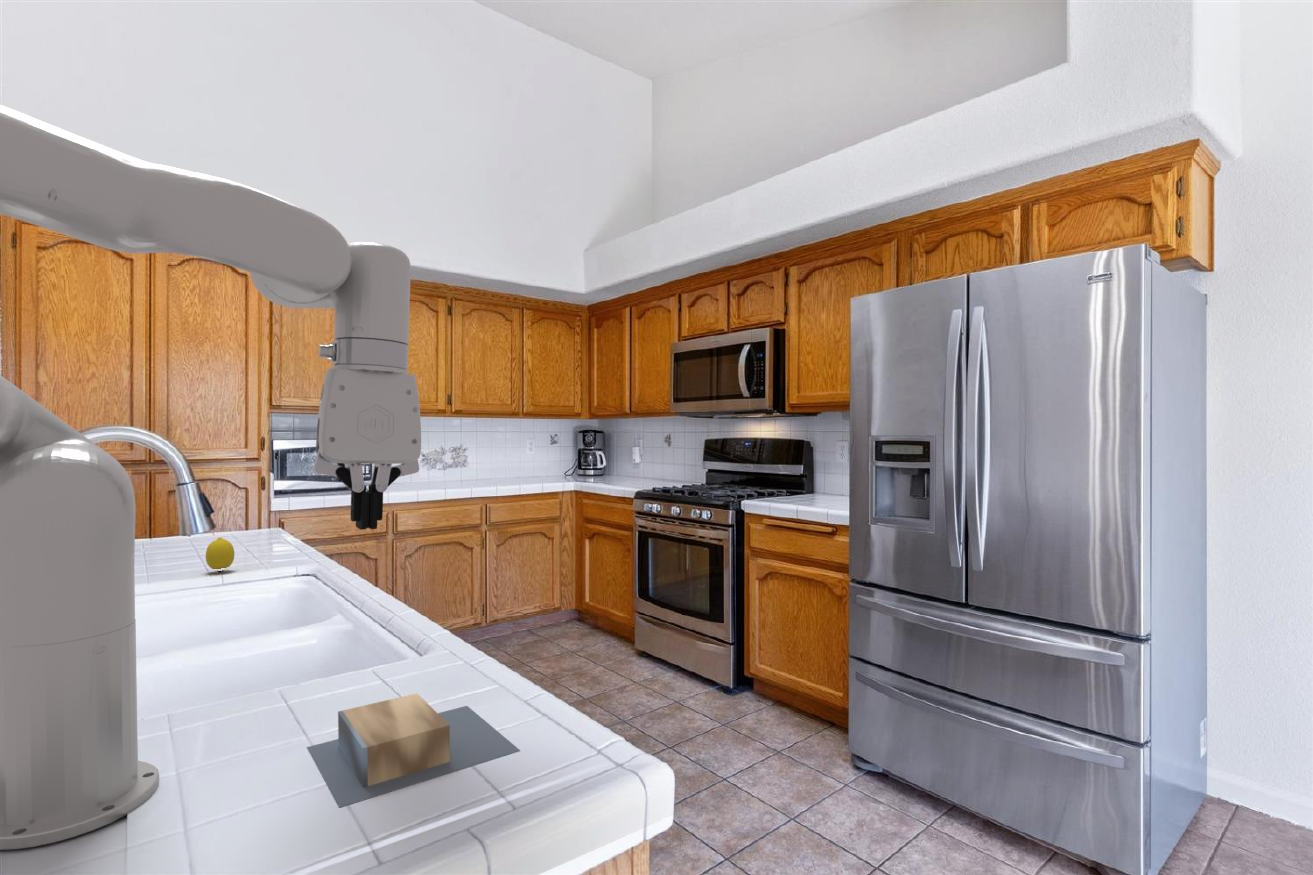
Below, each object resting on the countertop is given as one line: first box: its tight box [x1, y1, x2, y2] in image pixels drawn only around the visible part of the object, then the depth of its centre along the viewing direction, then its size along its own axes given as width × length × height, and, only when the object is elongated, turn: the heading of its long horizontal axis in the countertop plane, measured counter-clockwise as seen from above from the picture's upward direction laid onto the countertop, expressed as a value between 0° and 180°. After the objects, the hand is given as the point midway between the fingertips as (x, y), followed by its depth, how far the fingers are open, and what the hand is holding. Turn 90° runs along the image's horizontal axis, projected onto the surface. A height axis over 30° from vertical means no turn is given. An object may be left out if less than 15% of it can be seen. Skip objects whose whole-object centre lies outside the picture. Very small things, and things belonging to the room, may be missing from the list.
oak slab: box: [337, 692, 450, 788], centre depth 69 cm, size 4×10×8 cm
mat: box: [306, 705, 521, 809], centre depth 70 cm, size 17×14×1 cm
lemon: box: [205, 537, 235, 570], centre depth 156 cm, size 6×6×8 cm
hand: (366, 527), depth 75 cm, fingers closed
